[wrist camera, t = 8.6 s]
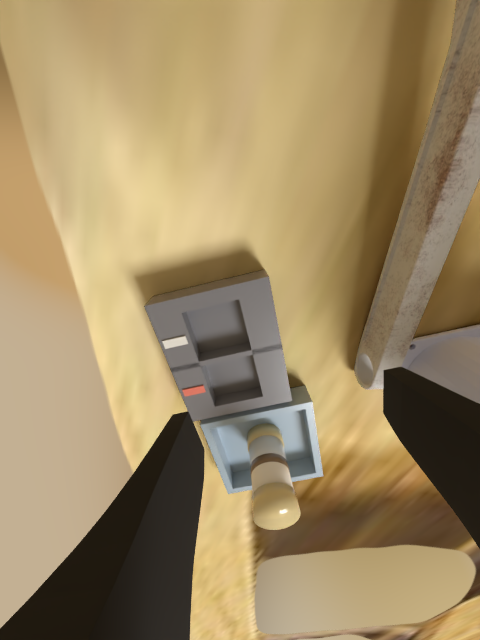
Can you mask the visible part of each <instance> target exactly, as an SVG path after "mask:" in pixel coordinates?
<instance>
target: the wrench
mask: <svg viewBox="0 0 480 640" xmlns="http://www.w3.org/2000/svg"><path fill="white" fill-rule="evenodd" d="M479 179H480V0H457V1H456V9H455V16H454V23H453V30H452V37H451V44H450V47H449V51H448V54H447V58H446V61H445V64H444V68H443V71H442V75H441V78H440V81H439V85H438V88H437V92H436V95H435V99H434V102H433V105H432V109H431V112H430V116H429V119H428V123H427V126H426V129H425V133H424V136H423V139H422V142H421V146H420V149H419V152H418V155H417V159H416V162H415V165H414V168H413V172H412V175H411V178H410V181H409V185H408V188H407V191H406V194H405V198H404V201H403V204H402V207H401V211H400V214H399V217H398V220H397V224H396V227H395V230H394V233H393V237H392V240H391V243H390V246H389V250H388V253H387V256H386V260H385V263H384V266H383V270H382V273H381V276H380V280H379V283H378V286H377V289H376V293H375V296H374V299H373V303H372V306H371V309H370V312H369V315H368V319H367V322H366V325H365V328H364V331H363V334H362V338H361V341H360V344H359V348H358V352H357V357H356V362H355V366H354V371H355V376H356V378H357V381H358V383H359V384H360V385H361V387H363V388H365V389H383V388H384V370H387V369H392V368H396V367H401V366H402V363H403V361H404V359H405V356H406V354H407V351H408V349H409V347H410V344H411V342H412V340H413V337H414V335H415V332H416V330H417V328H418V325H419V323H420V320H421V318H422V316H423V313H424V311H425V308H426V306H427V304H428V301H429V299H430V296H431V294H432V292H433V289H434V287H435V284H436V282H437V280H438V277H439V275H440V272H441V270H442V268H443V265H444V263H445V260H446V258H447V256H448V253H449V251H450V248H451V246H452V244H453V241H454V239H455V236H456V234H457V232H458V229H459V227H460V224H461V222H462V220H463V217H464V215H465V212H466V210H467V208H468V205H469V203H470V200H471V198H472V196H473V193H474V191H475V188H476V186H477V184H478V181H479Z"/></svg>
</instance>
